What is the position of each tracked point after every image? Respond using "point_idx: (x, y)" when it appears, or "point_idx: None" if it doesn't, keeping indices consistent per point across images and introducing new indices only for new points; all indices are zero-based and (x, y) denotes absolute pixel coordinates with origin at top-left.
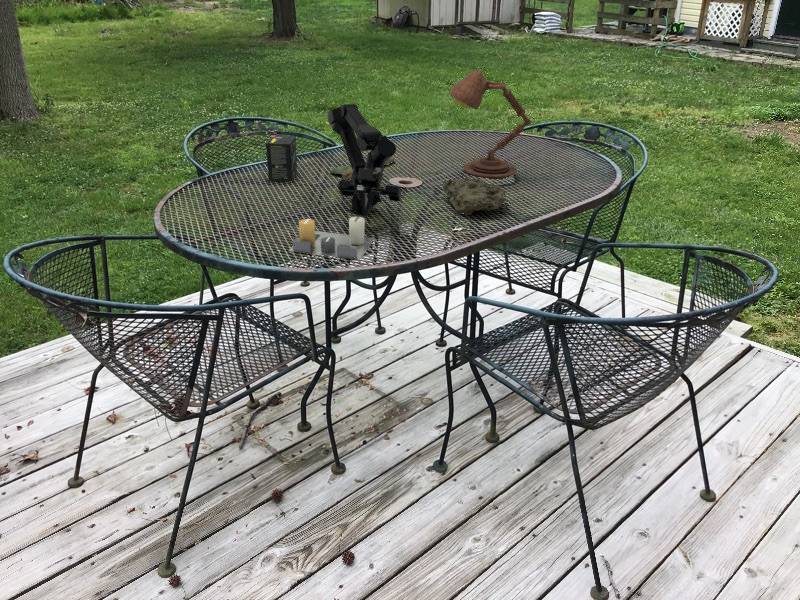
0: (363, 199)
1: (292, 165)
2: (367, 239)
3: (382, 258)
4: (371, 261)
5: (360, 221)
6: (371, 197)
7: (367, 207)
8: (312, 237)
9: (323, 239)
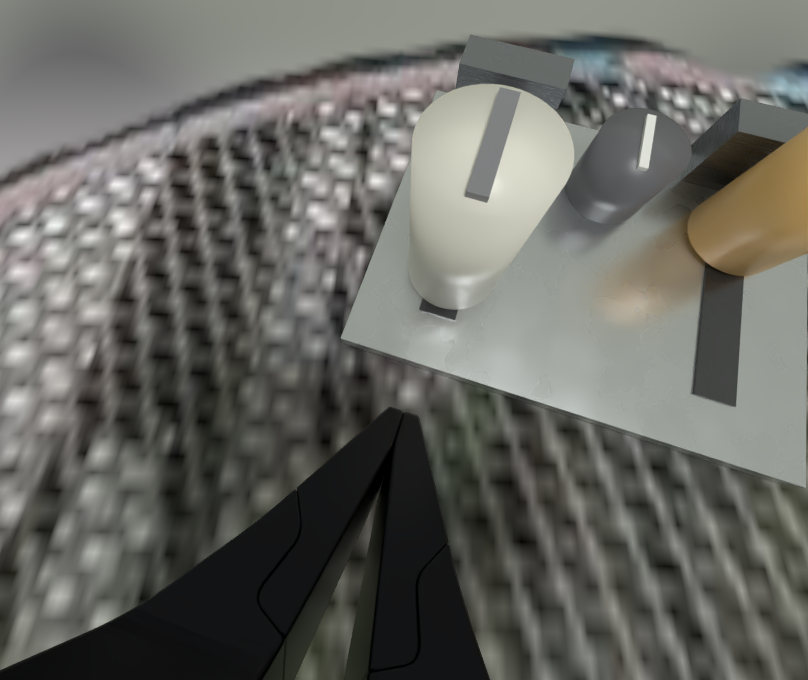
0: (412, 650)
1: None
2: (387, 314)
3: (329, 152)
4: (382, 126)
5: (454, 97)
6: (166, 656)
7: (349, 467)
8: (756, 164)
9: (674, 148)
